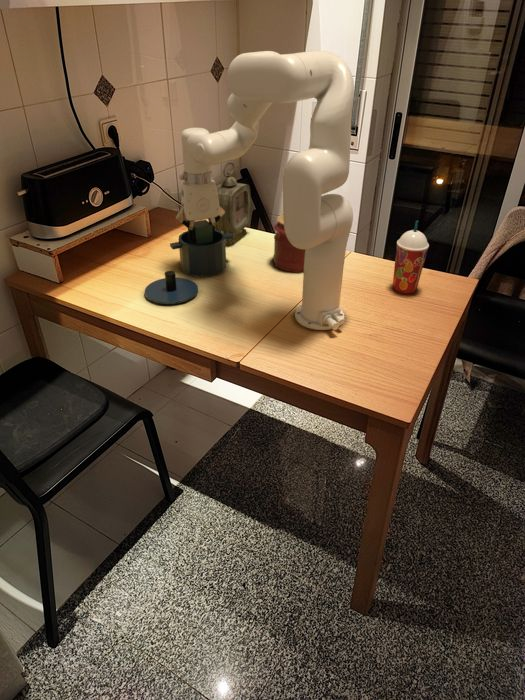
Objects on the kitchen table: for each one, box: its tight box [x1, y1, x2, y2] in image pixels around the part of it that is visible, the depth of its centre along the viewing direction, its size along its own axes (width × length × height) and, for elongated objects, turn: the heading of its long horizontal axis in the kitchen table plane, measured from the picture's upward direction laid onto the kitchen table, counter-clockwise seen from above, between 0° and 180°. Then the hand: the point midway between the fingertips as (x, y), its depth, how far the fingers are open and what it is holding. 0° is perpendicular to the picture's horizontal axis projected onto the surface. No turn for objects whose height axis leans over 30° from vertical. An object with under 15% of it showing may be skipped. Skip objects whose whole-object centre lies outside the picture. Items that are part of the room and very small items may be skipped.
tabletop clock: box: [207, 161, 252, 246], centre depth 169 cm, size 14×9×25 cm, turn 155°
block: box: [193, 219, 213, 244], centre depth 151 cm, size 5×5×5 cm
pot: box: [169, 230, 234, 278], centre depth 155 cm, size 14×19×10 cm
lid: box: [144, 270, 199, 305], centre depth 142 cm, size 15×15×6 cm
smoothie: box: [392, 220, 430, 294], centre depth 141 cm, size 8×8×20 cm
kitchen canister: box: [273, 213, 306, 273], centre depth 155 cm, size 13×13×18 cm
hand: (202, 238), depth 152 cm, fingers closed on block, 5 cm apart
